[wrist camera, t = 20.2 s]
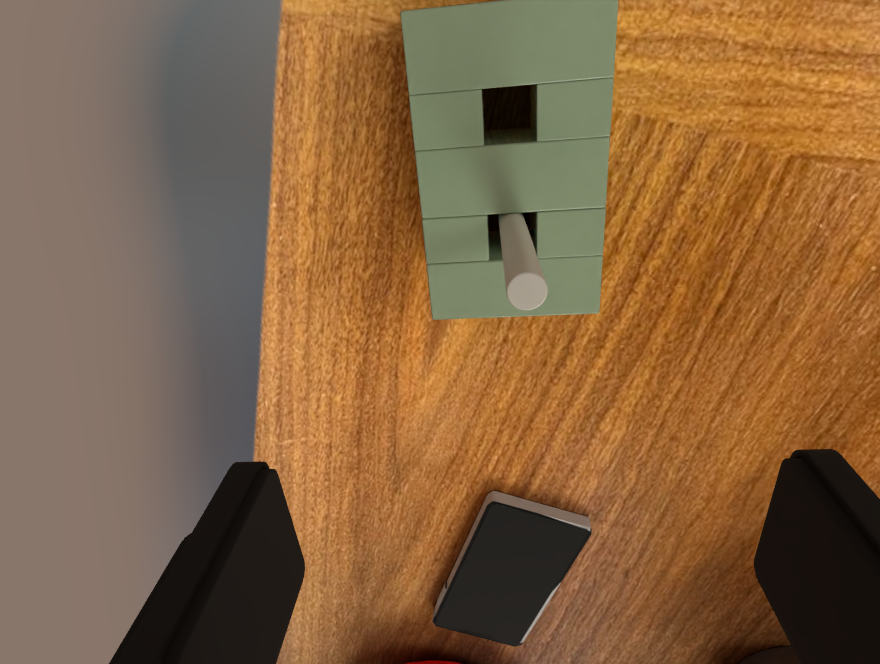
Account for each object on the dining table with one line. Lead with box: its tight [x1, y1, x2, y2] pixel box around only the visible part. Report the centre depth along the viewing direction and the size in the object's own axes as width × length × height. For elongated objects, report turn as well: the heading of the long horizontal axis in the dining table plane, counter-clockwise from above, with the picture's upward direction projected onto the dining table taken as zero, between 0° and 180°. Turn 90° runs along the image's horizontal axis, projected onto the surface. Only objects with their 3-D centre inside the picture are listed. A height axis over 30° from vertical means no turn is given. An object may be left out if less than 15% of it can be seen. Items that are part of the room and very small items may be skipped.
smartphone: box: [432, 491, 591, 647], centre depth 41 cm, size 8×1×15 cm
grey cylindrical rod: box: [498, 213, 548, 310], centre depth 22 cm, size 1×1×14 cm
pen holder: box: [400, 0, 618, 320], centre depth 25 cm, size 13×8×4 cm, turn 5°
